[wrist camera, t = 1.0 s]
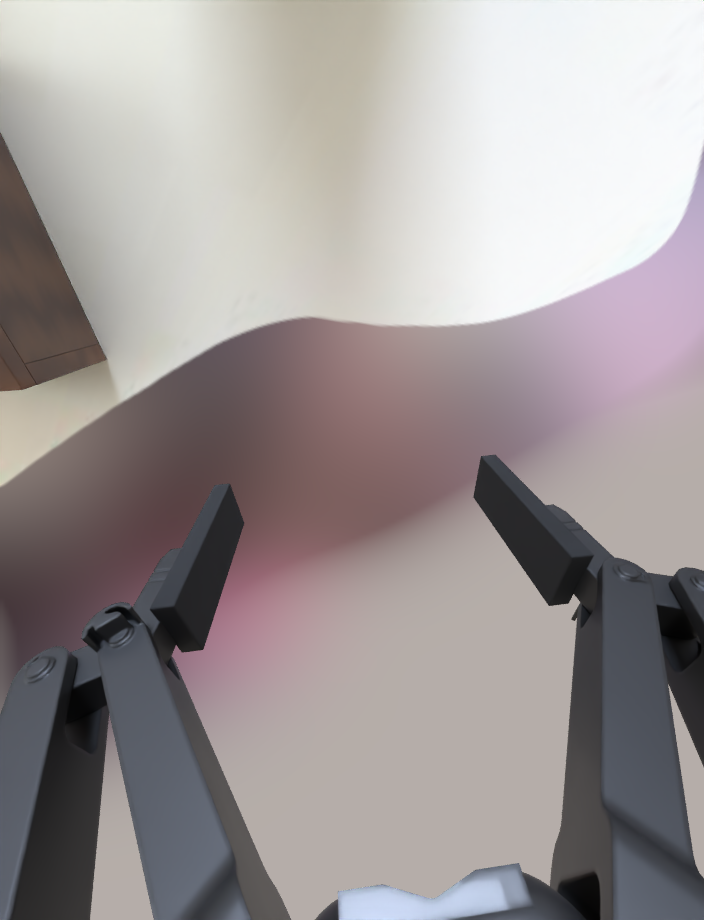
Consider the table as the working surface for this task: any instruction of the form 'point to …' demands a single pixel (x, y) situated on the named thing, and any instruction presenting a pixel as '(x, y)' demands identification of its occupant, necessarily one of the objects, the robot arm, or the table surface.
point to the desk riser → (35, 295)
